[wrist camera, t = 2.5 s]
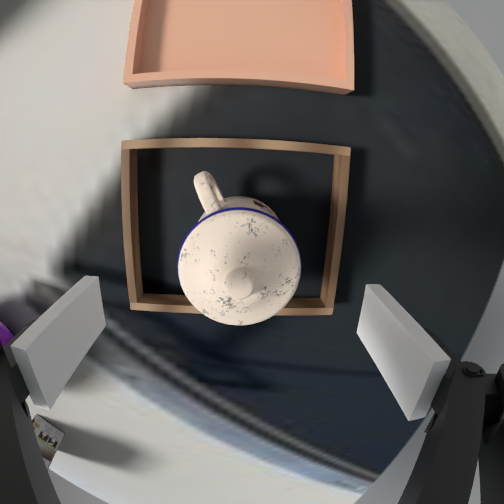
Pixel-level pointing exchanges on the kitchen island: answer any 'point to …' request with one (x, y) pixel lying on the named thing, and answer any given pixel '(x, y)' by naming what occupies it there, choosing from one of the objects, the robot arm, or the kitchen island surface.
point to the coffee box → (47, 438)
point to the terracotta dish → (242, 44)
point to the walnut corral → (340, 152)
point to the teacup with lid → (237, 258)
